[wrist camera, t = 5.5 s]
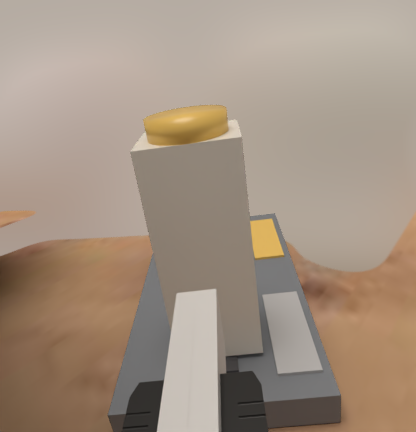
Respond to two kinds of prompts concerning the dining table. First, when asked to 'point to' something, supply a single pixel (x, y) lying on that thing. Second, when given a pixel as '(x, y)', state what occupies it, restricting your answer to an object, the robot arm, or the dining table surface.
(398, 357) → the dining table surface
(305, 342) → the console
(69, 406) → the dining table surface
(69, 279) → the dining table surface
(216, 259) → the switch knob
